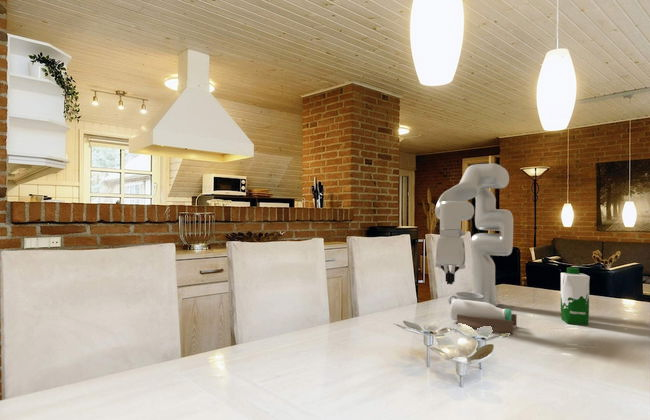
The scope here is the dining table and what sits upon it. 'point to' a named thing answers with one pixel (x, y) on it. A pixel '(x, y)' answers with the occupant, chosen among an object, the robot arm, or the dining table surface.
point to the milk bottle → (478, 310)
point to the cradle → (490, 323)
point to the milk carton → (575, 297)
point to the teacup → (466, 296)
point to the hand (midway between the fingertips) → (450, 283)
